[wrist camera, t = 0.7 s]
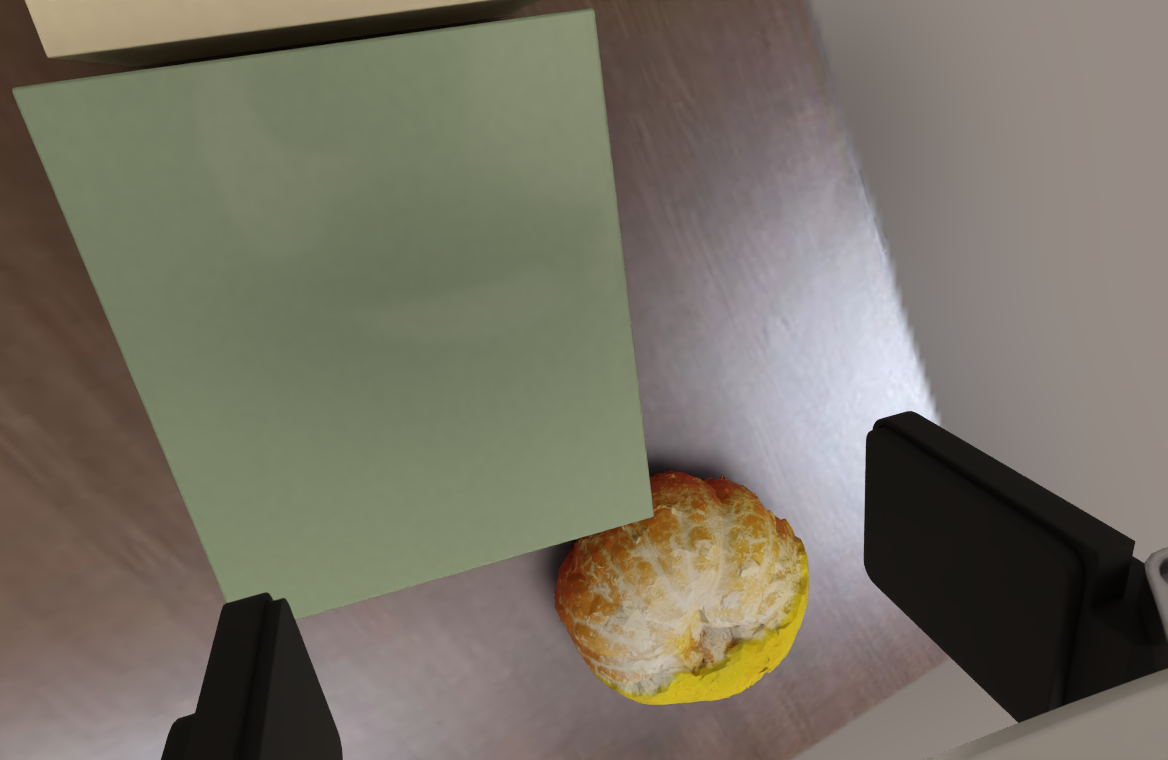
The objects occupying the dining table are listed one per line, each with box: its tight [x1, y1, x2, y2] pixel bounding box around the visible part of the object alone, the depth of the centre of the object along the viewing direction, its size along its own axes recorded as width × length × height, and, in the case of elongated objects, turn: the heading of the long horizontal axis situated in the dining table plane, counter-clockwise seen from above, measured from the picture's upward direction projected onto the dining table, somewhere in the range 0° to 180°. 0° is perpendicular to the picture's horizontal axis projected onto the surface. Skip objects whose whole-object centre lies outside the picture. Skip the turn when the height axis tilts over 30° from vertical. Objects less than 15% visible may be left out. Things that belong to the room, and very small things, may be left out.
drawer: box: [25, 0, 539, 67], centre depth 21 cm, size 19×11×7 cm, turn 8°
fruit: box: [554, 469, 809, 705], centre depth 32 cm, size 11×10×8 cm
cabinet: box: [12, 8, 654, 620], centre depth 23 cm, size 15×13×9 cm
